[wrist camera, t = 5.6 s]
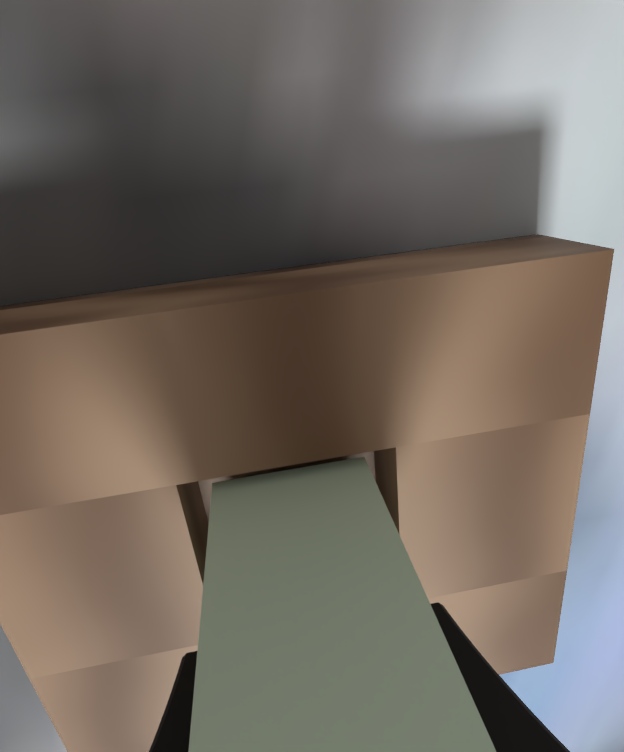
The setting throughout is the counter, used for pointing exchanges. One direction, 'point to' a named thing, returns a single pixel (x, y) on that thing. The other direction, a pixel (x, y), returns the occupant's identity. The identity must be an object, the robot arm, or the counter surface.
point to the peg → (320, 626)
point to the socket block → (288, 449)
